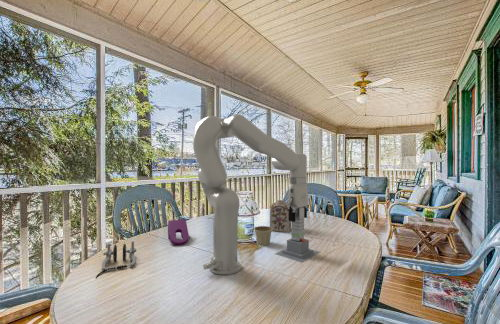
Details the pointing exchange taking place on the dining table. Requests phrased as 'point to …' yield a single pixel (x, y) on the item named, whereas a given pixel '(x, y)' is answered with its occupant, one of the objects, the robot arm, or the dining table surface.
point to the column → (298, 225)
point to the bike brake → (114, 253)
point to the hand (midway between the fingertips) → (297, 219)
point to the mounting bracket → (176, 227)
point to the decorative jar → (279, 217)
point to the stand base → (298, 250)
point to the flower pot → (263, 235)
